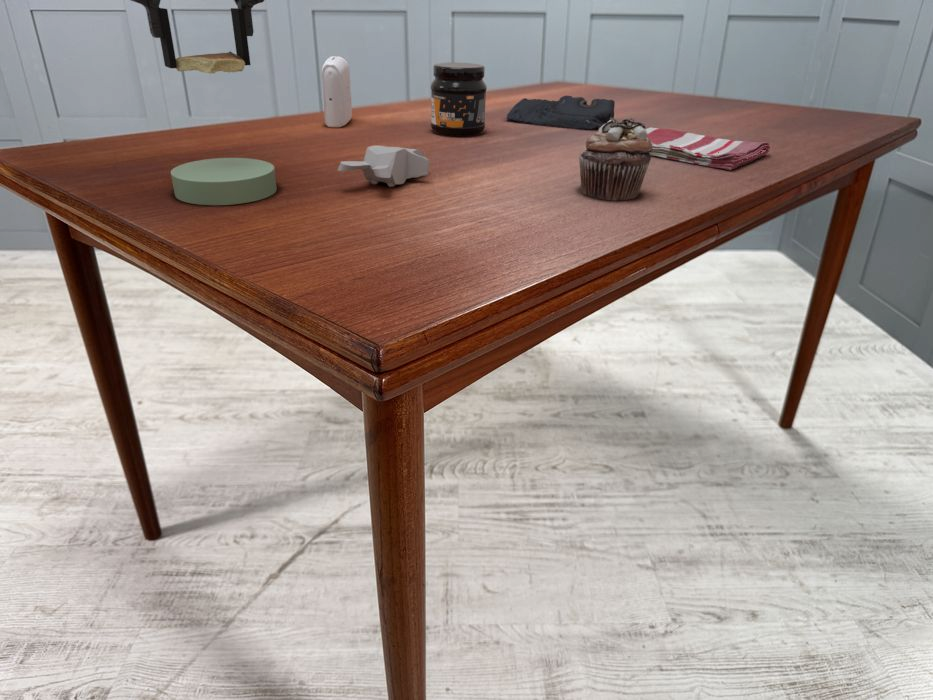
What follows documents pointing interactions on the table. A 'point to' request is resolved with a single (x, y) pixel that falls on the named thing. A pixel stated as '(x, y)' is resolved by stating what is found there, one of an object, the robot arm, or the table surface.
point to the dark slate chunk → (563, 112)
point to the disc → (224, 181)
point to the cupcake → (615, 160)
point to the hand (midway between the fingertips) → (208, 65)
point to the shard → (211, 63)
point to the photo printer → (336, 92)
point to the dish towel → (703, 148)
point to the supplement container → (458, 99)
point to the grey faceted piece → (389, 164)
